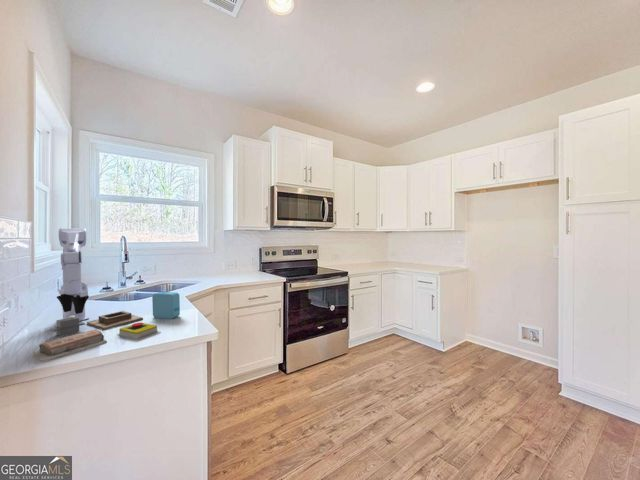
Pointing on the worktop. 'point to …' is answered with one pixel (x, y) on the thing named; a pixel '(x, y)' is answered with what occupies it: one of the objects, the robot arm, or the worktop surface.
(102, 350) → the worktop surface
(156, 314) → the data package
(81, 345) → the packaged product
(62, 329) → the servo block
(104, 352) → the worktop surface
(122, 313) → the dock
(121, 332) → the emergency button
